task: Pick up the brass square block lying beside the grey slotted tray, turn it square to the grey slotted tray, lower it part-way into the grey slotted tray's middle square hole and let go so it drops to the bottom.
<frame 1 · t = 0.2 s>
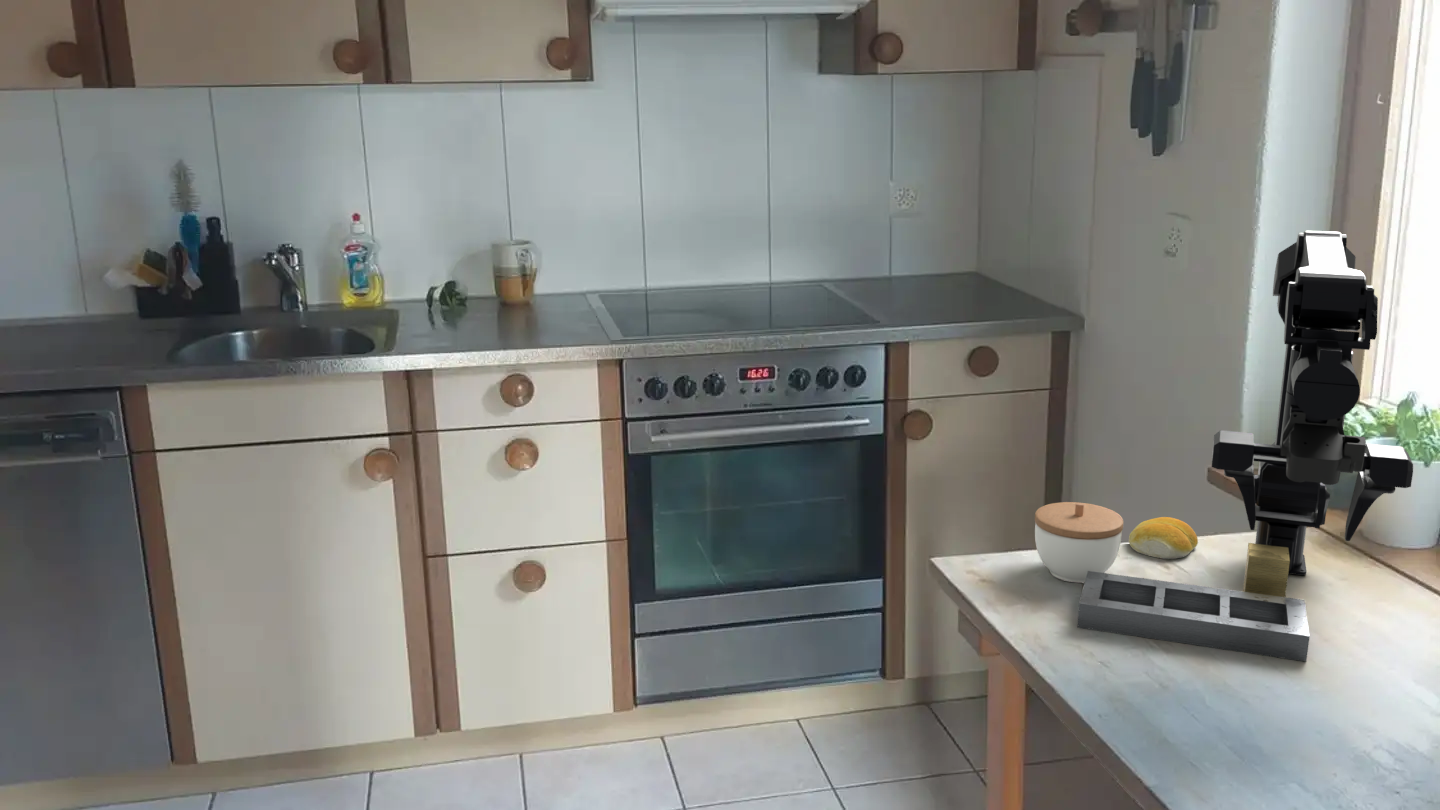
hand: (1299, 534, 132), 14 cm above the table, fingers open, 9 cm apart
grey slotted tray: (1189, 625, 142), on the table
bread roll: (1162, 550, 166), on the table
lidded jar: (1074, 574, 157), on the table
brass block: (1262, 602, 149), on the table
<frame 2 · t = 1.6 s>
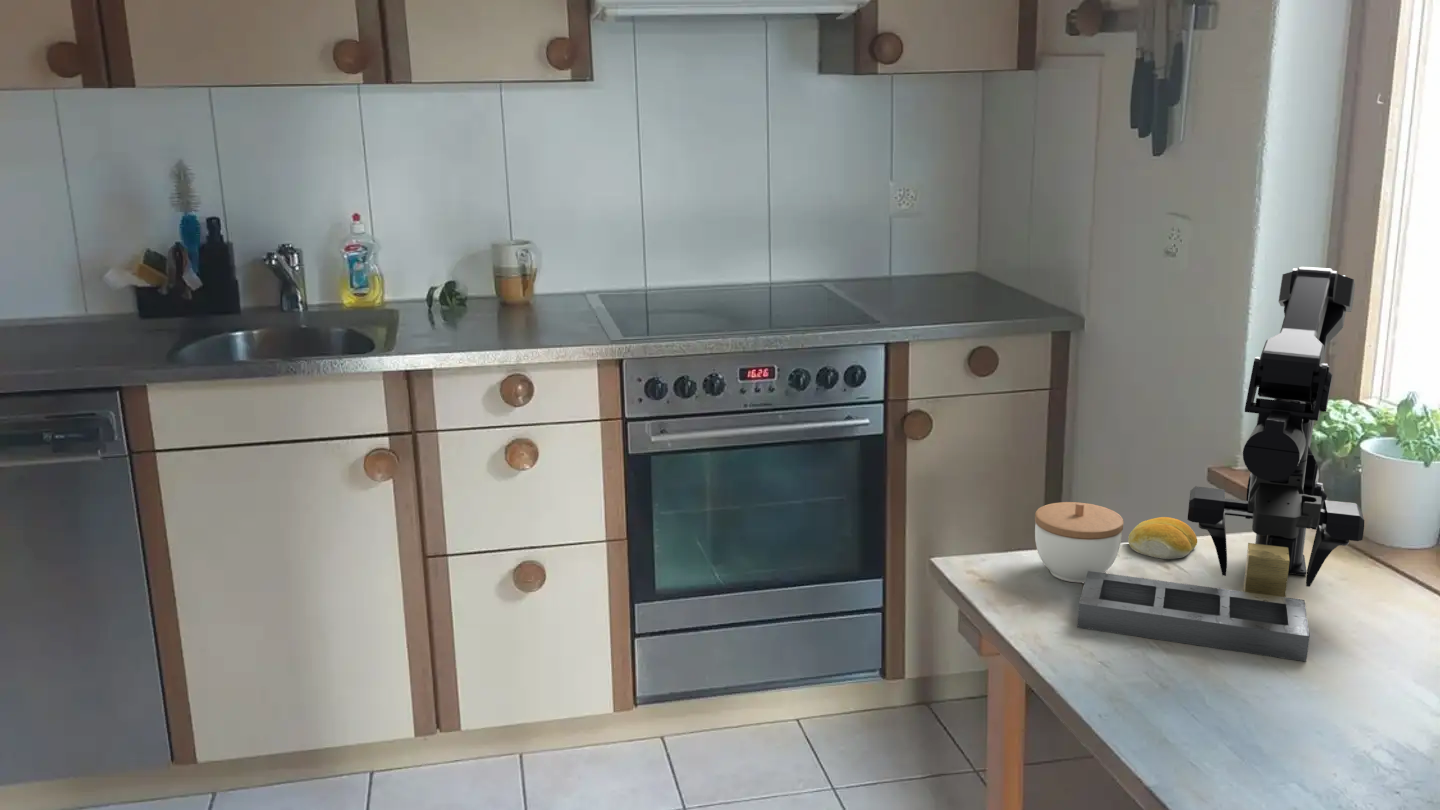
hand: (1265, 579, 148), 3 cm above the table, fingers open, 9 cm apart
nothing on the table moved.
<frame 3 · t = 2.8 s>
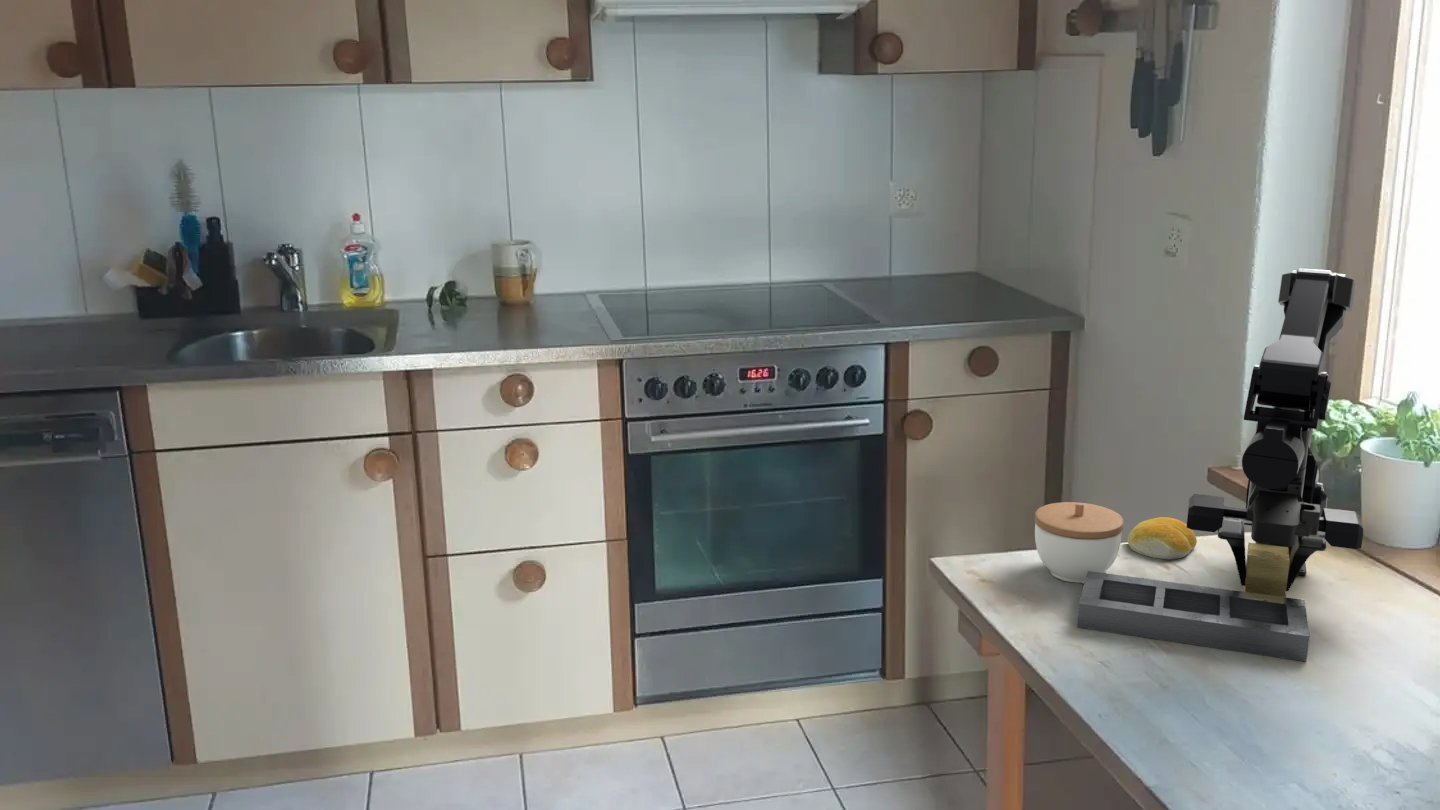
hand: (1264, 587, 148), 2 cm above the table, fingers closed on brass block, 4 cm apart
brass block: (1262, 601, 149), on the table, touching gripper
everything else where it was.
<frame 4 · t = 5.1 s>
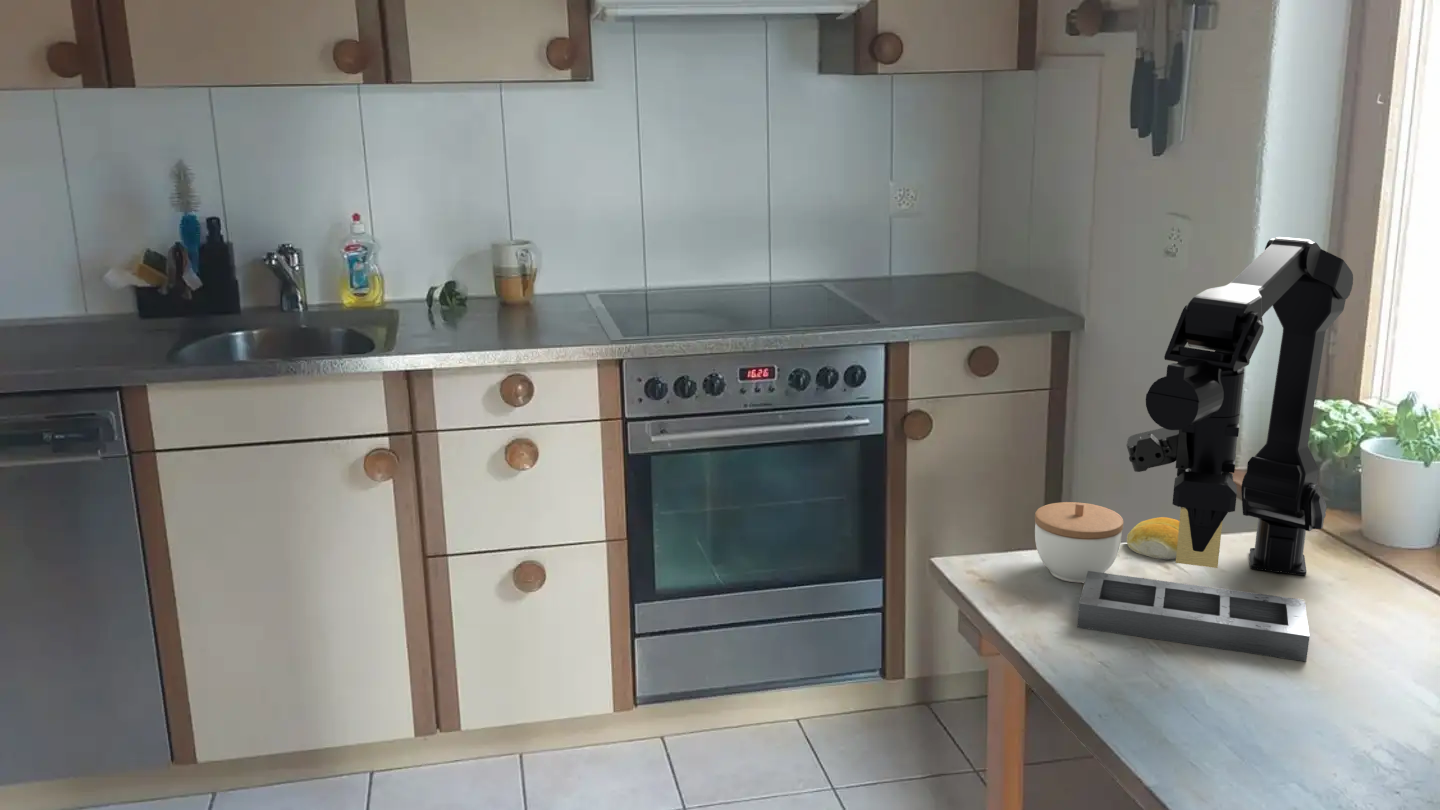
hand: (1198, 543, 140), 10 cm above the table, fingers closed on brass block, 4 cm apart
brass block: (1196, 558, 140), point 8 cm above the table, touching gripper
everything else where it was.
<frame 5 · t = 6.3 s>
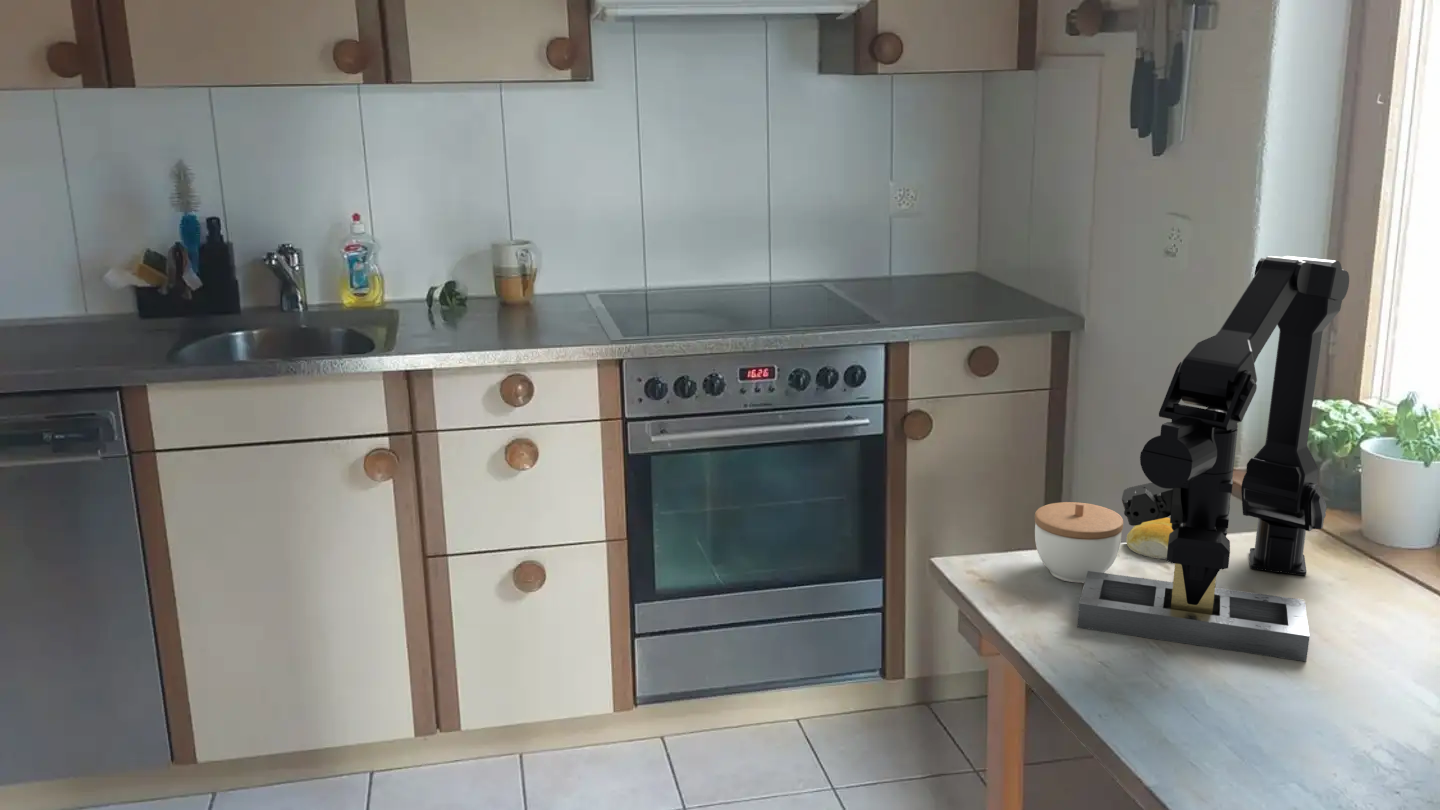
hand: (1192, 595, 142), 4 cm above the table, fingers closed on brass block, 4 cm apart
brass block: (1191, 610, 142), point 2 cm above the table, touching gripper
everything else where it was.
when the fingers open (4 cm above the table, at t = 7.3 s): brass block drops 2 cm, resting in grey slotted tray.
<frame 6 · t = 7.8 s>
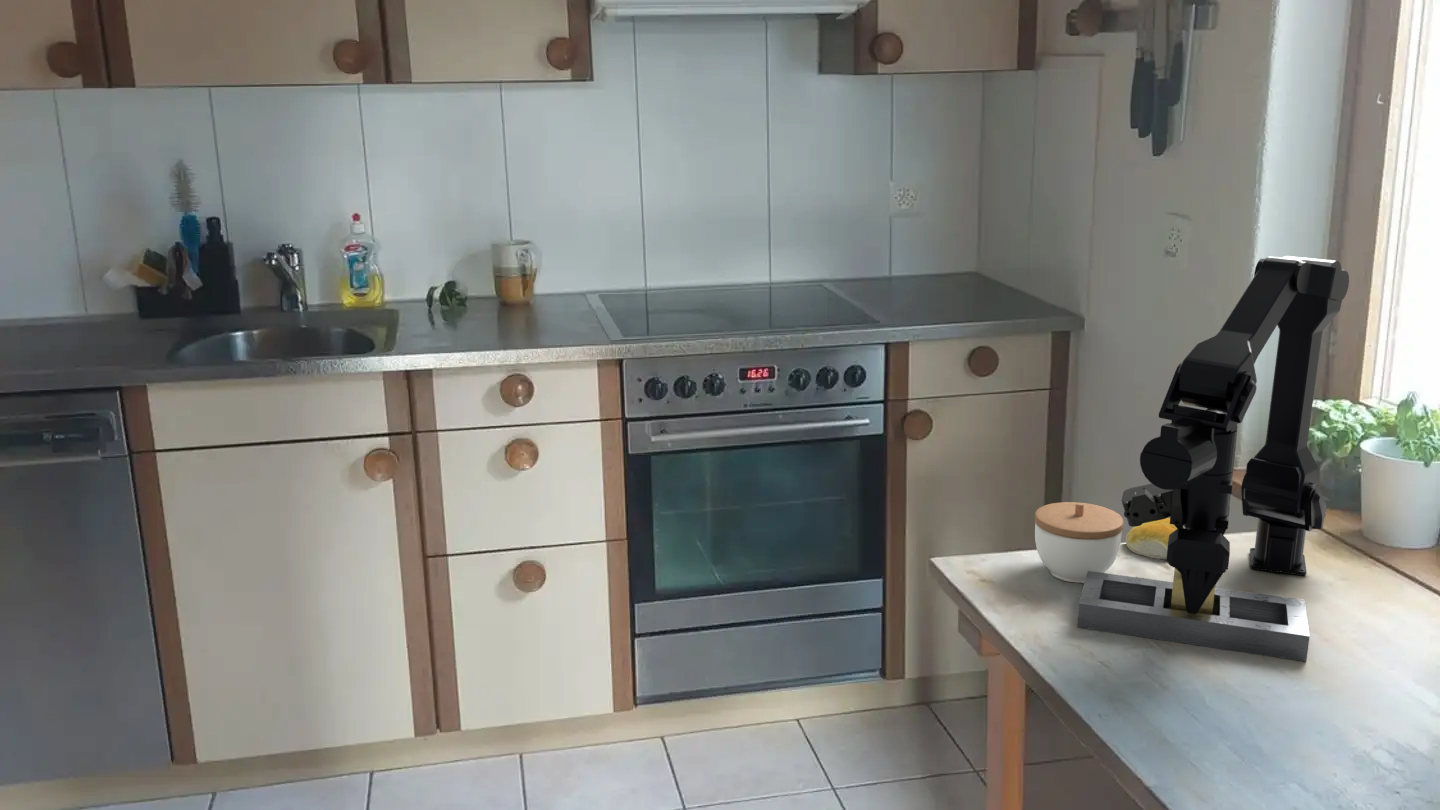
hand: (1192, 596, 142), 4 cm above the table, fingers open, 9 cm apart
brass block: (1189, 626, 143), resting in grey slotted tray
everything else where it was.
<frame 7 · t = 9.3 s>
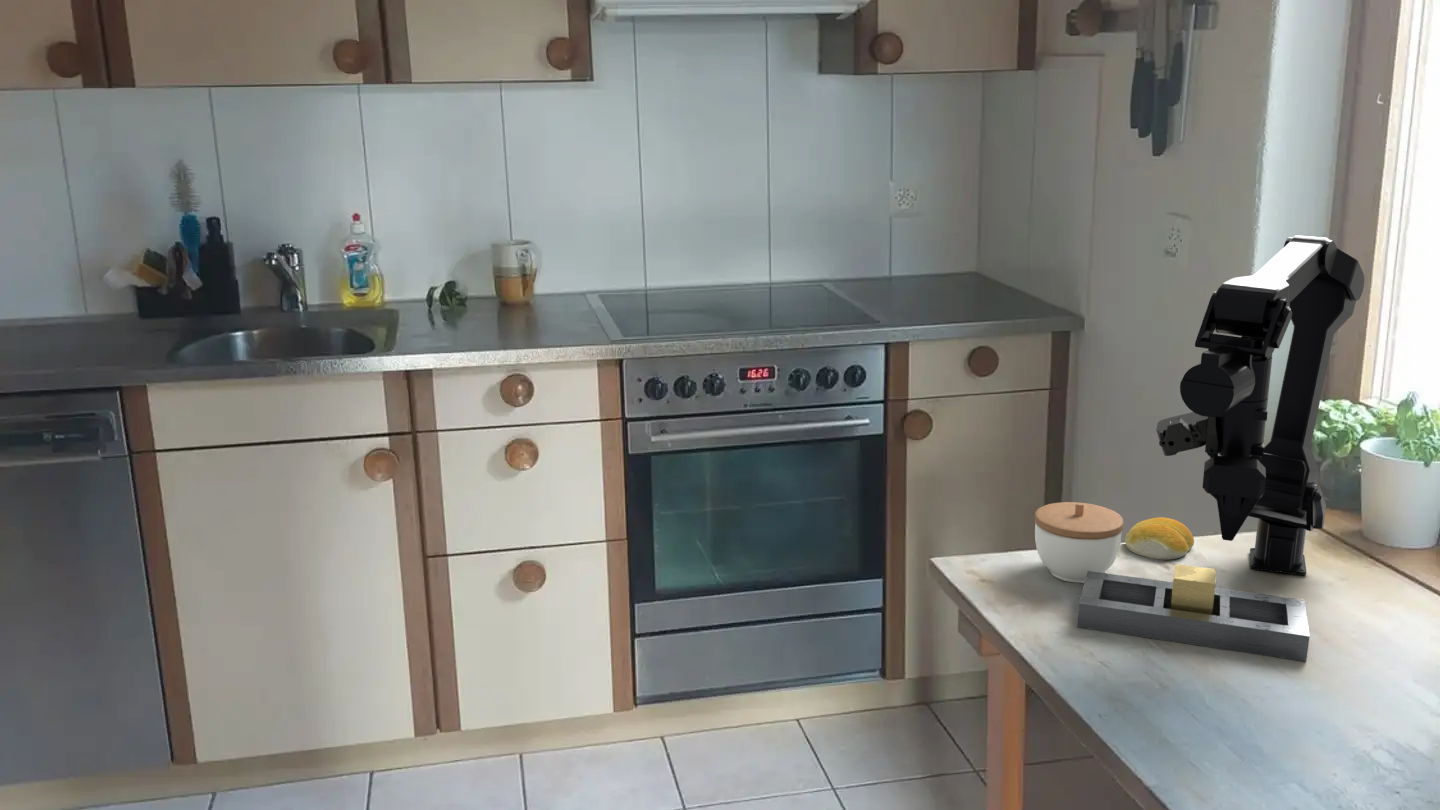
hand: (1227, 525, 143), 11 cm above the table, fingers open, 9 cm apart
nothing on the table moved.
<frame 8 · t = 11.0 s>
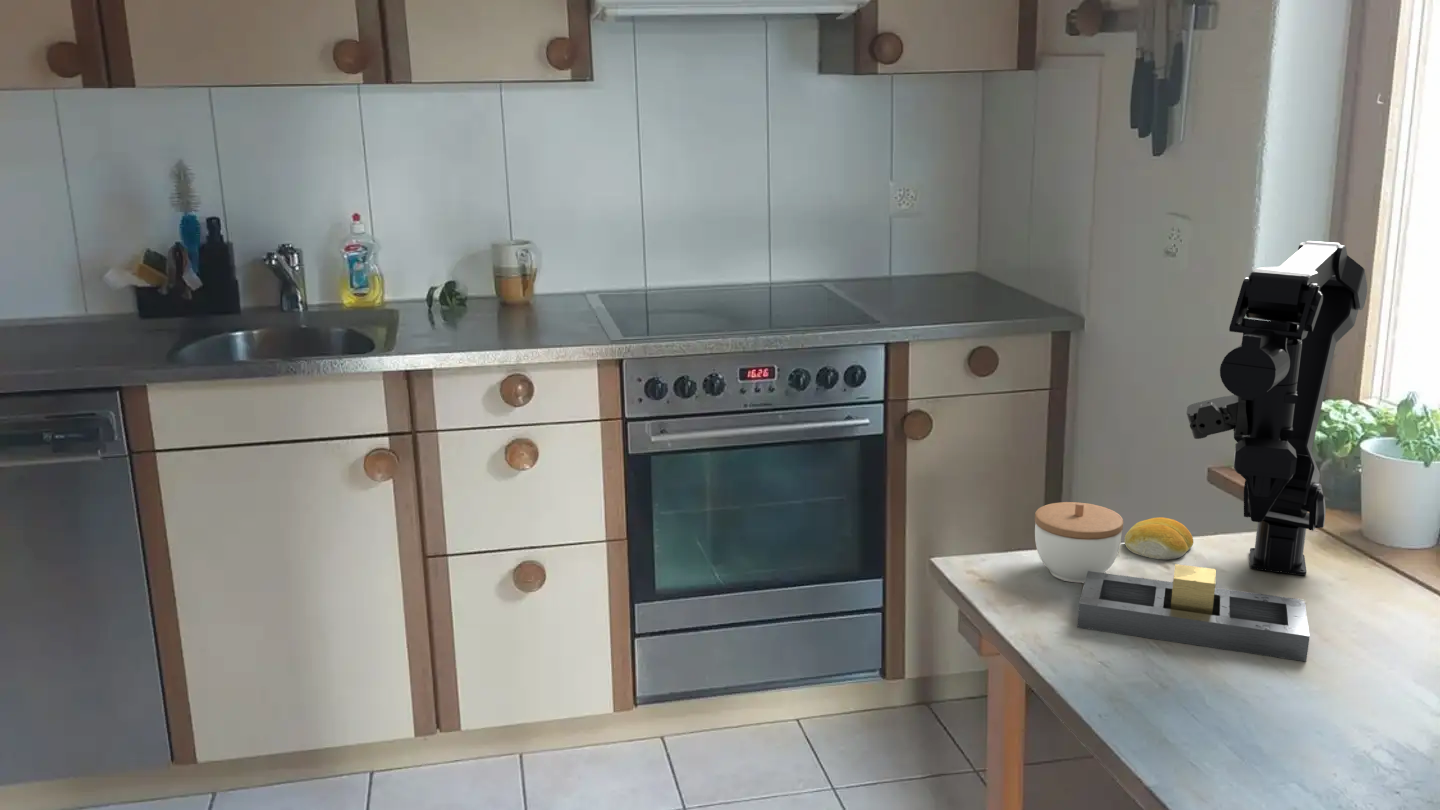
hand: (1255, 508, 145), 12 cm above the table, fingers open, 9 cm apart
nothing on the table moved.
at the end: brass block 0.0 cm off-centre on the grey slotted tray, point 0.0 cm above the grey slotted tray's base; brass block tilted 0°; the gripper is holding nothing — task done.
